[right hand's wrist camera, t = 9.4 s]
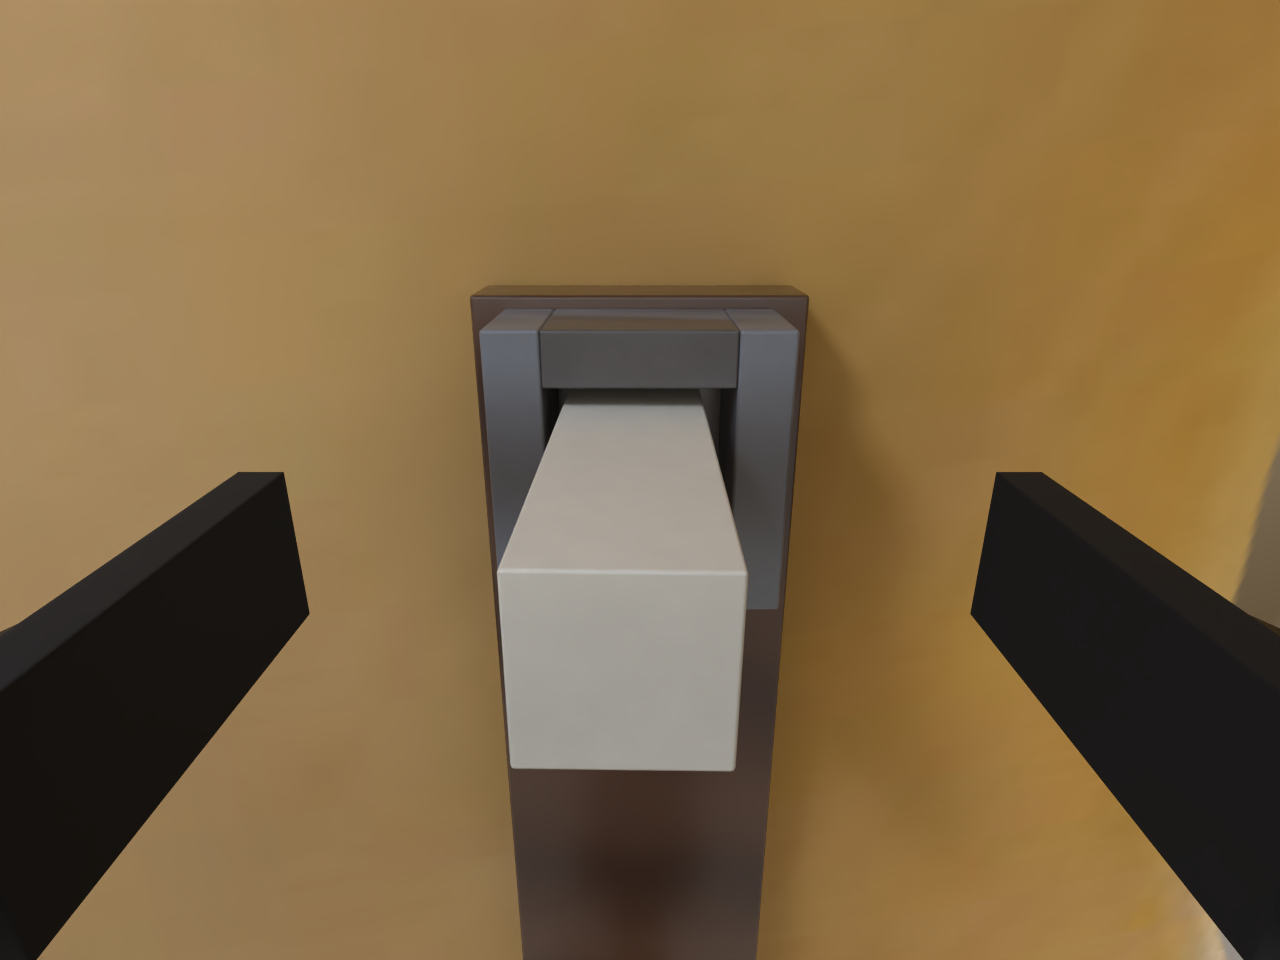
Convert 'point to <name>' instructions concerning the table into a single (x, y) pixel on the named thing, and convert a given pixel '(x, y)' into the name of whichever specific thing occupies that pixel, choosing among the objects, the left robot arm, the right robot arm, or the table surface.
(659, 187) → the table surface
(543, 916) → the peg board
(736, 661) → the peg
